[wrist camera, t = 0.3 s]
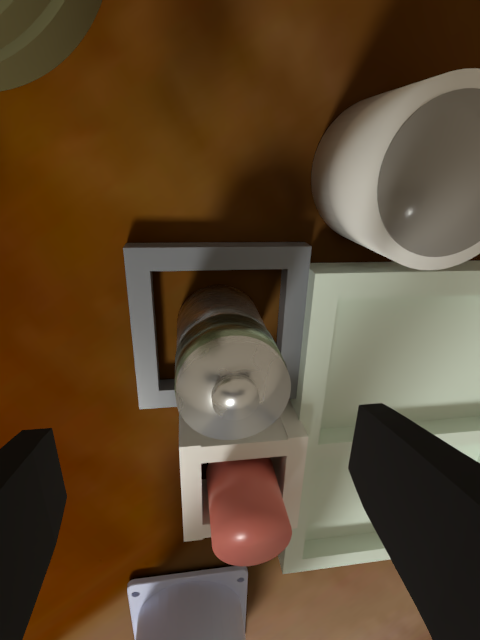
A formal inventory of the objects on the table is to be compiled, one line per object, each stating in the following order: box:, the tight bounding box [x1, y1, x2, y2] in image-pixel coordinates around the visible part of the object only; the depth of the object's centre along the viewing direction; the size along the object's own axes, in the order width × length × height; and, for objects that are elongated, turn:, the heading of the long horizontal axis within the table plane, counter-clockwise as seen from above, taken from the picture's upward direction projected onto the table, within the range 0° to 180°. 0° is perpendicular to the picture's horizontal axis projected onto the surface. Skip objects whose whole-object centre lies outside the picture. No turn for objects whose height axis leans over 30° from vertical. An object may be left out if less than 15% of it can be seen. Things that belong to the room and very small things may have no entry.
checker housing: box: [179, 400, 309, 542], centre depth 20 cm, size 6×6×3 cm
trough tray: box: [278, 261, 480, 574], centre depth 22 cm, size 20×14×2 cm
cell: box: [174, 285, 291, 440], centre depth 15 cm, size 4×4×6 cm
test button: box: [206, 457, 292, 566], centre depth 18 cm, size 4×4×4 cm
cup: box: [311, 68, 480, 270], centre depth 14 cm, size 6×6×5 cm
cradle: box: [123, 242, 312, 409], centre depth 18 cm, size 8×8×1 cm
